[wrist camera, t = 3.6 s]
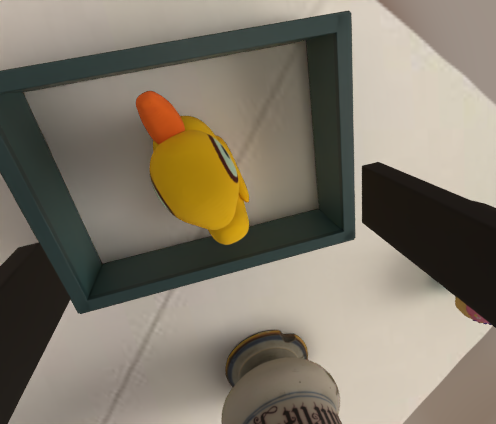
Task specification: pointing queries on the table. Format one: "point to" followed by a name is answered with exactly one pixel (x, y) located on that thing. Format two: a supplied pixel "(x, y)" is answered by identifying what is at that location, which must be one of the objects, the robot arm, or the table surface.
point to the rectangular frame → (207, 249)
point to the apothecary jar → (278, 383)
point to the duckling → (194, 171)
